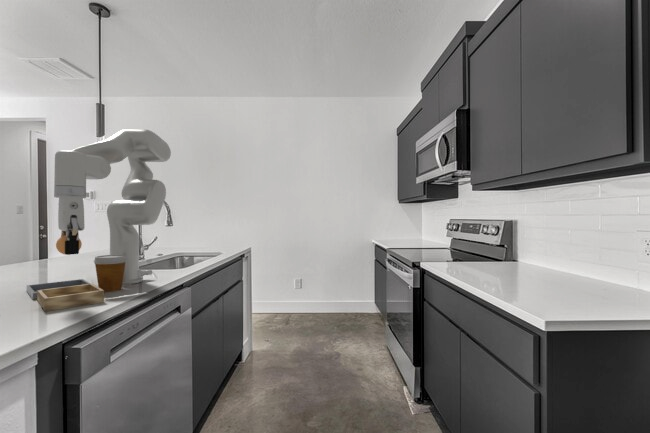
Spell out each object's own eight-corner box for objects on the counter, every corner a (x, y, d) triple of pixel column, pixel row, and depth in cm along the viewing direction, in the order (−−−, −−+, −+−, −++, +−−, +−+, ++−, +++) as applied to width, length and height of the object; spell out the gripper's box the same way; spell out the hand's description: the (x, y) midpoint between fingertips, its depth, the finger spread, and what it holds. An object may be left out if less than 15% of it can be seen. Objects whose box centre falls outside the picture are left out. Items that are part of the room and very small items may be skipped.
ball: (79, 253, 102) (79, 233, 102) (83, 254, 98) (83, 234, 98) (54, 254, 97) (54, 234, 97) (58, 256, 93) (58, 235, 93)
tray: (92, 294, 107) (92, 283, 107) (103, 302, 98) (104, 290, 98) (37, 302, 97) (37, 290, 97) (44, 311, 88) (44, 298, 88)
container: (82, 285, 119) (82, 279, 119) (93, 292, 109) (93, 285, 109) (26, 293, 108) (26, 285, 108) (32, 301, 97) (32, 293, 97)
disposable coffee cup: (133, 289, 114) (133, 255, 114) (107, 296, 105) (107, 258, 105) (112, 287, 117) (113, 254, 117) (86, 293, 108) (86, 257, 108)
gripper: (93, 192, 95) (91, 254, 94) (79, 195, 106) (78, 250, 106) (60, 190, 89) (58, 256, 89) (49, 193, 101) (48, 252, 100)
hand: (69, 252), depth 97 cm, fingers closed on ball, 6 cm apart
